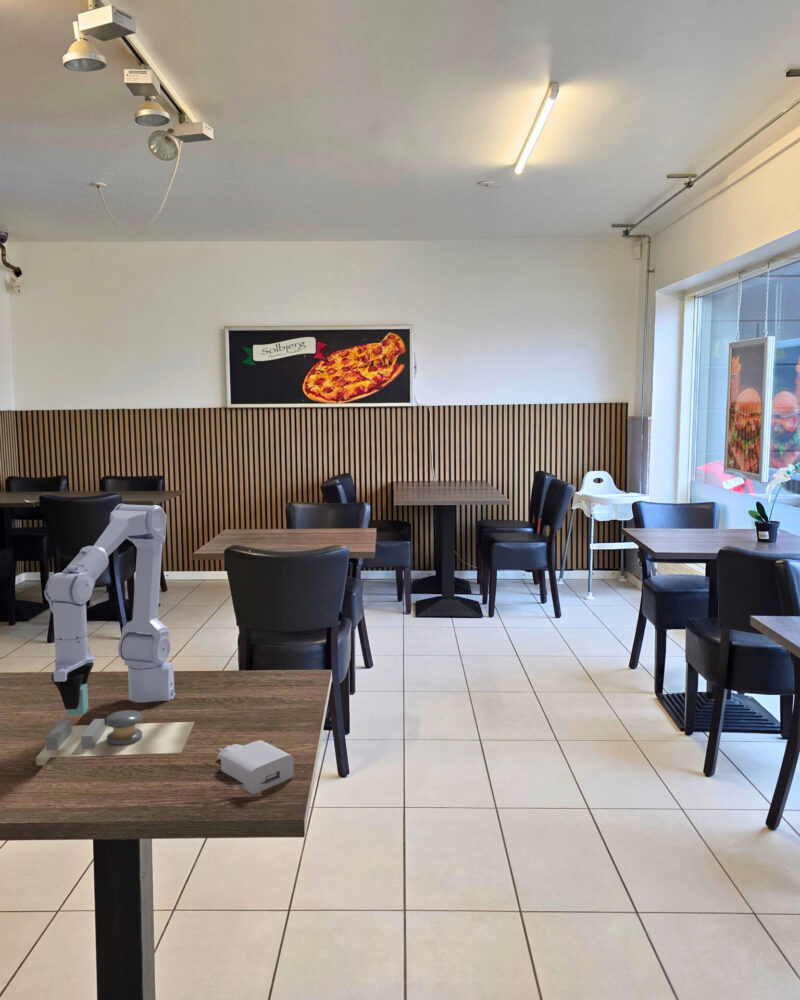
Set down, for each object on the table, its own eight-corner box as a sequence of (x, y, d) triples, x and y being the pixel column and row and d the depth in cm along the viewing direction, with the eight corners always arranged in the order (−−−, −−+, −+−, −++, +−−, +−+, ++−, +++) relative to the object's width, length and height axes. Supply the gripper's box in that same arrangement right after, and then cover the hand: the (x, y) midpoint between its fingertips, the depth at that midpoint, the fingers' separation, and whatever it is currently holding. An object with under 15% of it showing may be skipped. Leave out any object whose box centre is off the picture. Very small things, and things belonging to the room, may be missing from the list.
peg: (88, 708, 151) (87, 683, 150) (83, 714, 148) (82, 689, 147) (72, 709, 150) (71, 684, 150) (67, 715, 147) (65, 689, 147)
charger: (244, 752, 149) (293, 778, 138) (202, 768, 142) (250, 797, 132) (243, 728, 148) (293, 753, 138) (201, 743, 142) (250, 770, 131)
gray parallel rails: (105, 730, 154) (104, 718, 154) (92, 748, 146) (92, 735, 146) (61, 732, 153) (60, 720, 153) (46, 750, 145) (45, 737, 145)
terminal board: (194, 728, 159) (194, 721, 158) (181, 760, 145) (181, 752, 145) (62, 733, 156) (62, 726, 156) (36, 765, 143) (35, 757, 142)
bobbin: (145, 731, 154) (144, 709, 153) (137, 745, 148) (136, 723, 147) (112, 732, 153) (111, 710, 153) (102, 746, 147) (101, 724, 146)
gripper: (80, 647, 140) (84, 719, 142) (104, 624, 155) (107, 690, 156) (40, 648, 140) (44, 720, 141) (67, 625, 154) (70, 691, 156)
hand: (74, 704), depth 149 cm, fingers closed on peg, 3 cm apart
